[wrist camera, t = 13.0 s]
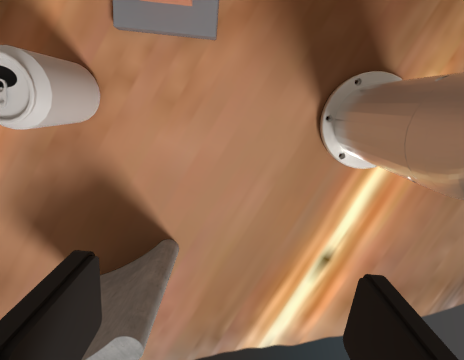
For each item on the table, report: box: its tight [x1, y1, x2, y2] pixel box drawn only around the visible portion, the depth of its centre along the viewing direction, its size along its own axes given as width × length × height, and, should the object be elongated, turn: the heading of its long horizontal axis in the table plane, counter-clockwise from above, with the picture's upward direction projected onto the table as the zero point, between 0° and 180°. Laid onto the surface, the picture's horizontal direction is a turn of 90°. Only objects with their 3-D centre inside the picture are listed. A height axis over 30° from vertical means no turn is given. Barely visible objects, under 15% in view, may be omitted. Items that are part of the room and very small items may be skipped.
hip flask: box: [82, 239, 179, 360], centre depth 32 cm, size 16×4×20 cm, turn 120°
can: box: [0, 45, 100, 129], centre depth 28 cm, size 8×8×12 cm
